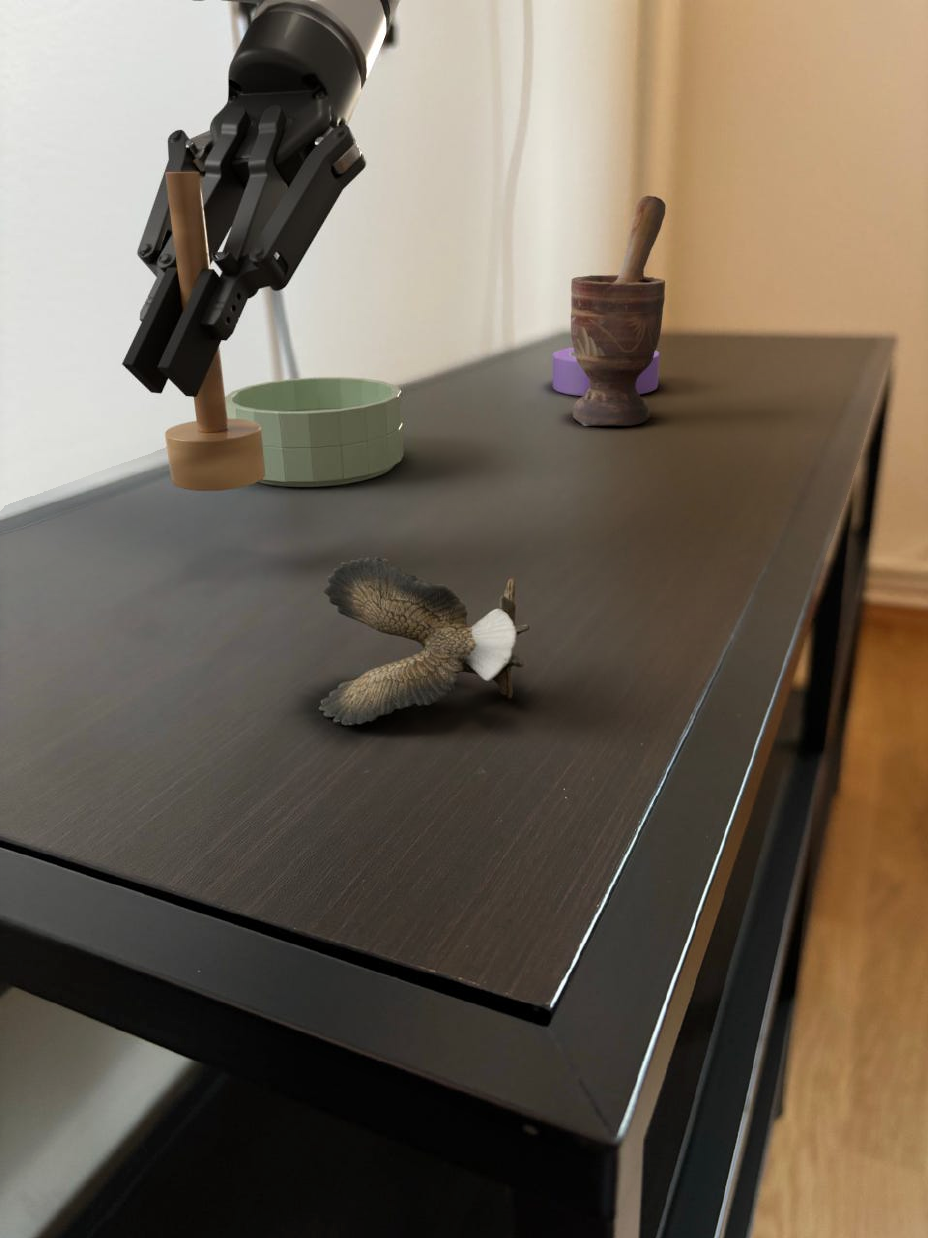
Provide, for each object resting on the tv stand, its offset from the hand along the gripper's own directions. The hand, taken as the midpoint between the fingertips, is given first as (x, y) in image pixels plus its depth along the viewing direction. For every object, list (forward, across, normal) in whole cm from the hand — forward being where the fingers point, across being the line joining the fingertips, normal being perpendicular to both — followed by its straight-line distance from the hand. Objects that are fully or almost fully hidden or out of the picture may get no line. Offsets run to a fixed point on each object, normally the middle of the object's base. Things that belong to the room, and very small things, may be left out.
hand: (159, 380), depth 54 cm
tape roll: (-37, -5, -55) cm, 66 cm away
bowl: (-9, +8, -27) cm, 29 cm away
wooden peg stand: (+2, 0, -7) cm, 8 cm away
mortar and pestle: (-28, -10, -46) cm, 54 cm away
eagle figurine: (+13, -20, -4) cm, 24 cm away
